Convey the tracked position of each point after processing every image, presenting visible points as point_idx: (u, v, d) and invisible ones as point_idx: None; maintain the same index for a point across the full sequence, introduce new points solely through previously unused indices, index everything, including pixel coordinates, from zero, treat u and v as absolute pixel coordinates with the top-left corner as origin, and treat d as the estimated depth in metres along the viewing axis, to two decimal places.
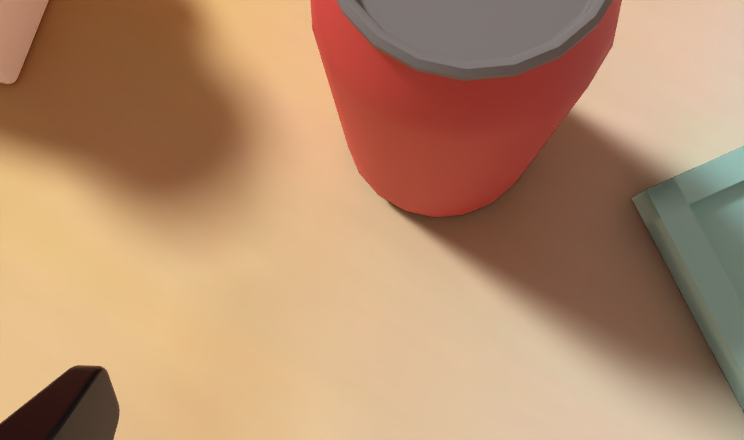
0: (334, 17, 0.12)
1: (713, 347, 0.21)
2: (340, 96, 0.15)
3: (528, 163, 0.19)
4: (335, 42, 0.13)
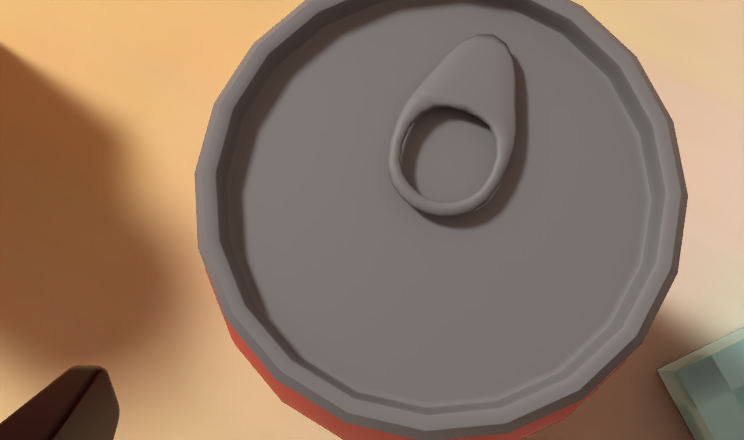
0: None
1: None
2: None
3: None
4: (232, 330, 0.08)
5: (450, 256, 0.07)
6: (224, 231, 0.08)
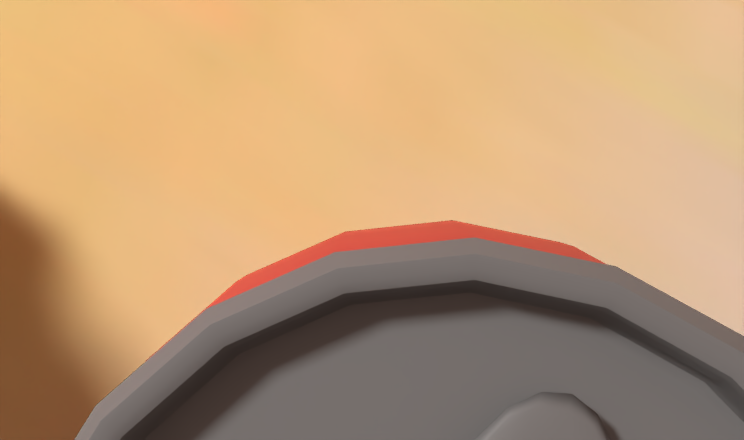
0: None
1: None
2: None
3: None
4: None
5: None
6: None
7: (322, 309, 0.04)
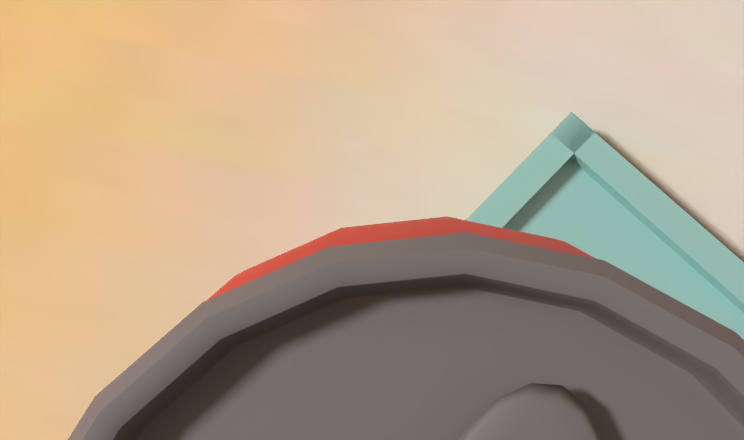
0: None
1: None
2: None
3: None
4: None
5: None
6: None
7: (317, 301, 0.04)
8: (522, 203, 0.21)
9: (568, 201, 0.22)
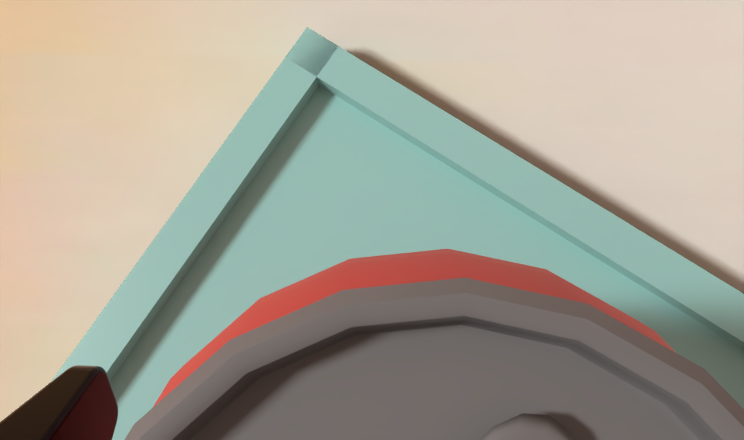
0: None
1: None
2: None
3: None
4: None
5: None
6: None
7: (332, 339, 0.05)
8: (261, 150, 0.17)
9: (325, 138, 0.17)
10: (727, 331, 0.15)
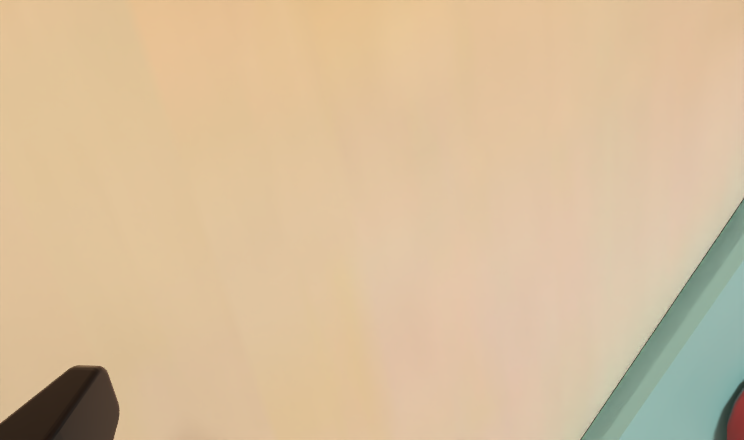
0: None
1: (696, 281, 0.22)
2: None
3: None
4: None
5: None
6: None
7: None
8: None
9: None
10: None
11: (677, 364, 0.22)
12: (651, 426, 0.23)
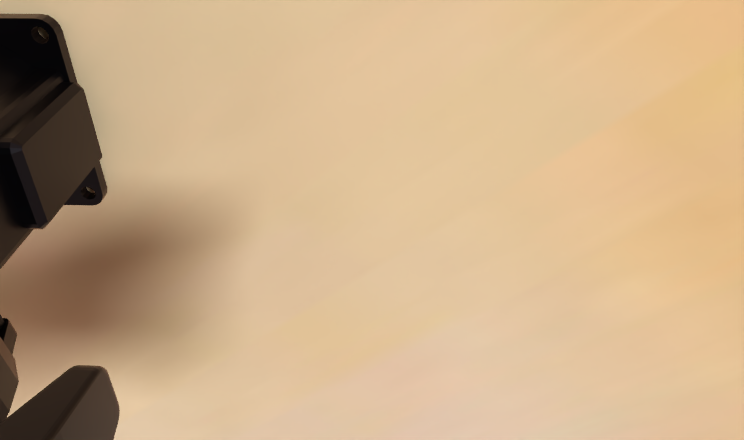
0: None
1: None
2: None
3: None
4: None
5: None
6: None
7: None
8: None
9: None
10: None
11: None
12: None
